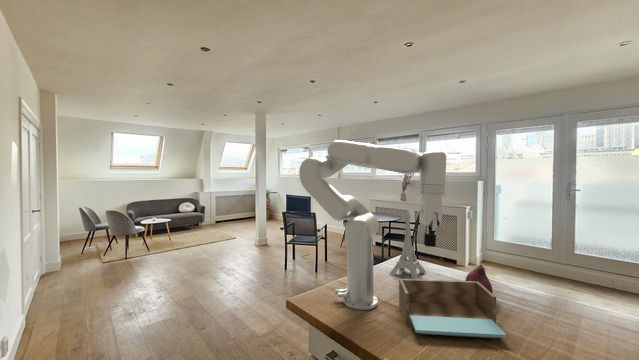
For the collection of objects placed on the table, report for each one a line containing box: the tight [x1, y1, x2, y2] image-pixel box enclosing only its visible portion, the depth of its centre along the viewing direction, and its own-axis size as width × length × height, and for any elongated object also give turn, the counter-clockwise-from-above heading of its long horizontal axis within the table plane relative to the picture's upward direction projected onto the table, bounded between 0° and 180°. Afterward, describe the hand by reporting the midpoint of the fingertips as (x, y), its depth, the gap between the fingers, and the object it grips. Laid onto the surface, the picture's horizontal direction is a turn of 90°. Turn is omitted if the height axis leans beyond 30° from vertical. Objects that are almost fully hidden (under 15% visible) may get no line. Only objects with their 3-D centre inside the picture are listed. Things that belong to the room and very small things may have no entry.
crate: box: [398, 278, 497, 325], centre depth 90 cm, size 27×12×10 cm, turn 83°
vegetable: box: [464, 264, 494, 295], centre depth 101 cm, size 10×10×15 cm
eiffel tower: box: [388, 210, 428, 280], centre depth 128 cm, size 13×13×30 cm
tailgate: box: [410, 315, 507, 339], centre depth 80 cm, size 24×1×8 cm
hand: (429, 245), depth 89 cm, fingers closed
